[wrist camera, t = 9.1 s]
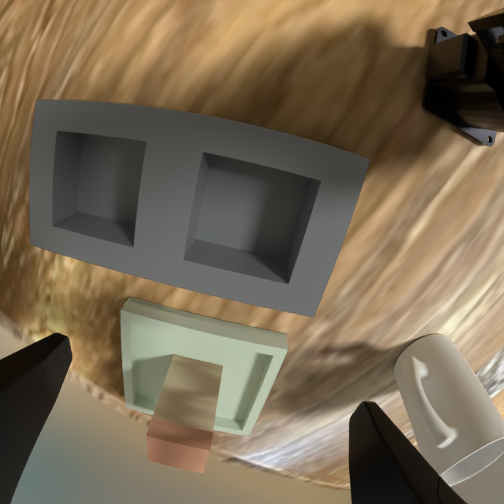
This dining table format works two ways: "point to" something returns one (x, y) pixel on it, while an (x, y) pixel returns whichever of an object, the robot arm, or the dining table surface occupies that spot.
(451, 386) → the mug
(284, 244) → the grey cinder block
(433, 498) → the robot arm
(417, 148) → the dining table surface
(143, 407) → the tray
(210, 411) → the plug
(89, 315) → the dining table surface
